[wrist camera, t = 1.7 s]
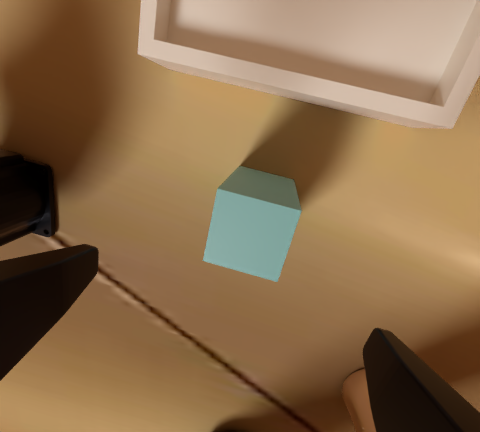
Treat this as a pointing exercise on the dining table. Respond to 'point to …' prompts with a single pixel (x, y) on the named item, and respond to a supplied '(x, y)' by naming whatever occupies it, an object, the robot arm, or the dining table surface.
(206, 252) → the tall teal block
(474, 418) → the robot arm
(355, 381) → the beer glass
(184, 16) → the box
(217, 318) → the dining table surface
